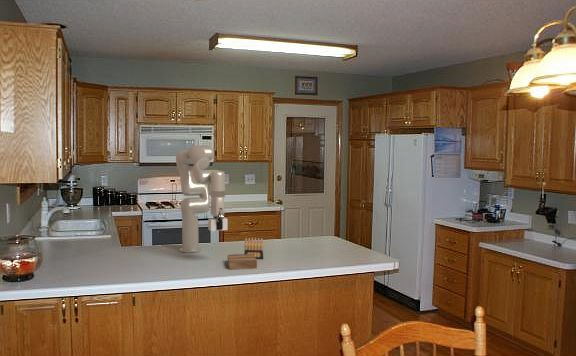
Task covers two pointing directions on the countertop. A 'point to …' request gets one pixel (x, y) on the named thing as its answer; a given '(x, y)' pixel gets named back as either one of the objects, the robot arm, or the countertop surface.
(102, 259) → the countertop surface
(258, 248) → the ammunition clip
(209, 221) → the block
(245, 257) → the walnut stand
